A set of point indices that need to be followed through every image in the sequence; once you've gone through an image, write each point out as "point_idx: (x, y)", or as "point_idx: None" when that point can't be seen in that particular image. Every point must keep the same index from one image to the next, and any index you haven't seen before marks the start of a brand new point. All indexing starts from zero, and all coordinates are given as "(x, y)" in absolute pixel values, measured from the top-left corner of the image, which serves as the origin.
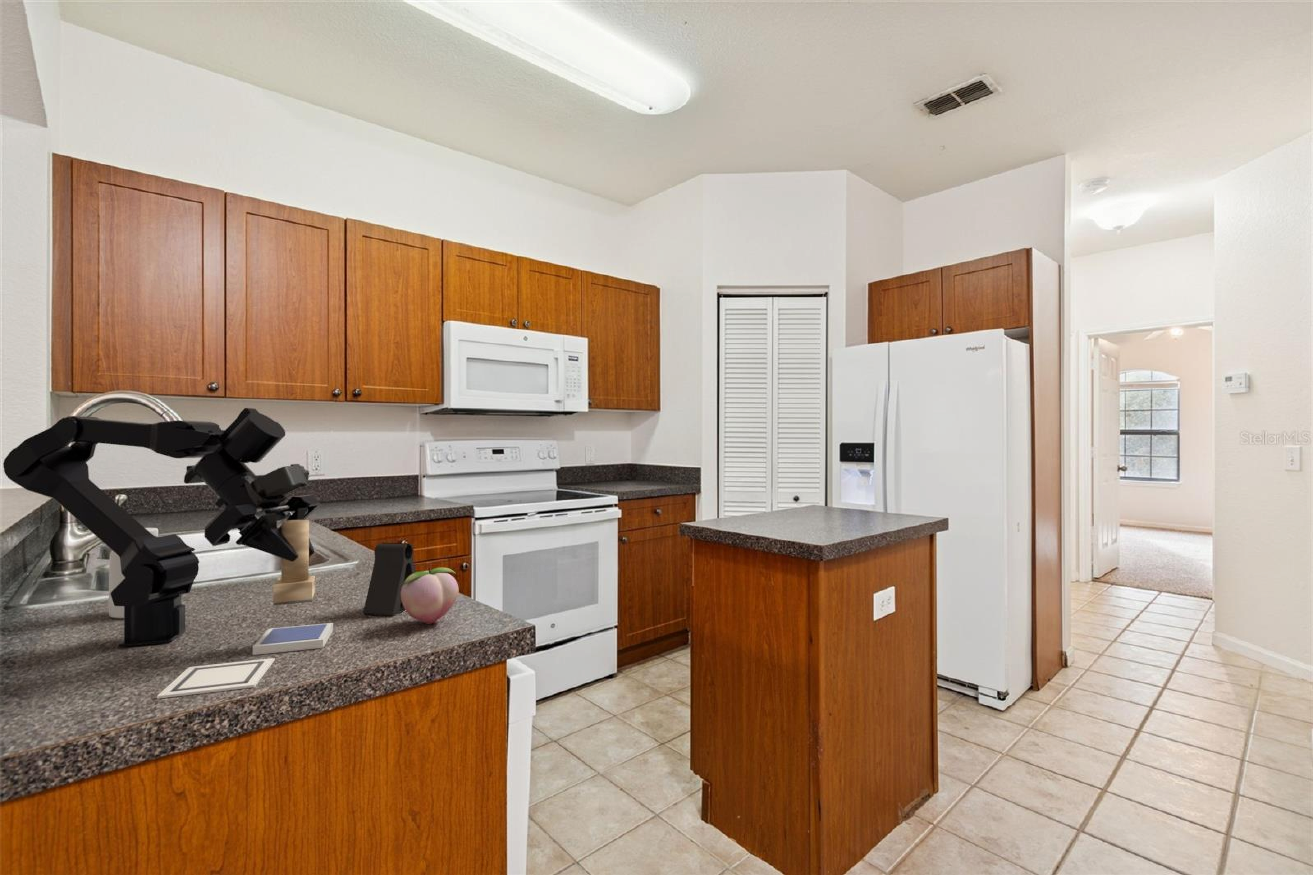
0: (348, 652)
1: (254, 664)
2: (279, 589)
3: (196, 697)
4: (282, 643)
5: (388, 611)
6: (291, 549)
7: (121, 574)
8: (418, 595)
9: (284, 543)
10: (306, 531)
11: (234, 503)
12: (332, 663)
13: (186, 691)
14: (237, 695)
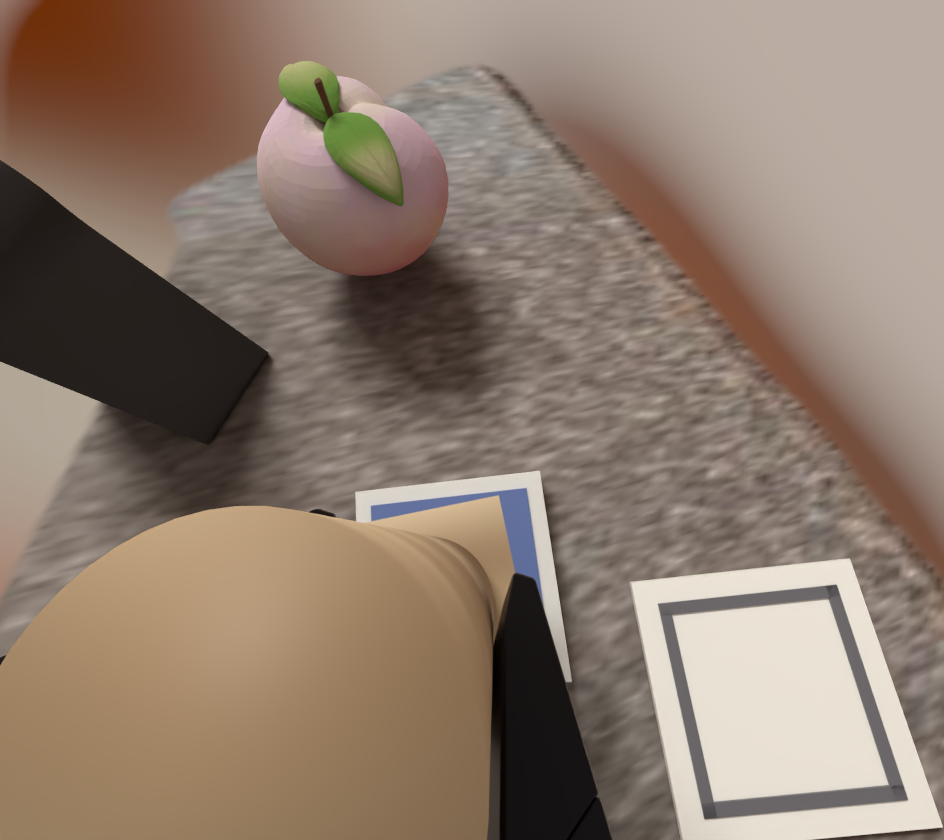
0: (590, 397)
1: (683, 624)
2: None
3: (916, 696)
4: (554, 588)
5: (251, 362)
6: (538, 635)
7: None
8: (441, 184)
9: (575, 726)
10: (380, 528)
11: None
12: (674, 414)
13: (901, 744)
14: (899, 582)
